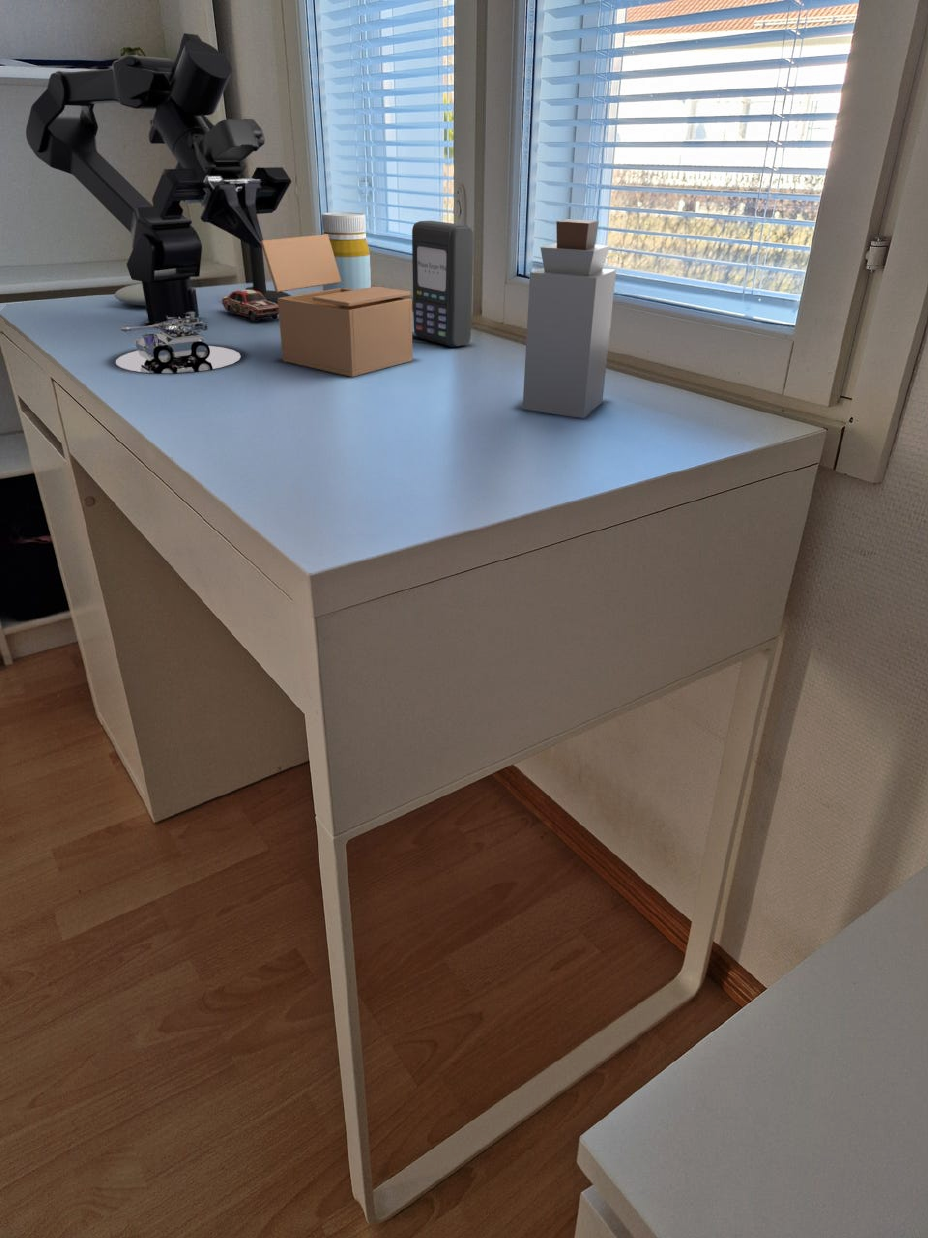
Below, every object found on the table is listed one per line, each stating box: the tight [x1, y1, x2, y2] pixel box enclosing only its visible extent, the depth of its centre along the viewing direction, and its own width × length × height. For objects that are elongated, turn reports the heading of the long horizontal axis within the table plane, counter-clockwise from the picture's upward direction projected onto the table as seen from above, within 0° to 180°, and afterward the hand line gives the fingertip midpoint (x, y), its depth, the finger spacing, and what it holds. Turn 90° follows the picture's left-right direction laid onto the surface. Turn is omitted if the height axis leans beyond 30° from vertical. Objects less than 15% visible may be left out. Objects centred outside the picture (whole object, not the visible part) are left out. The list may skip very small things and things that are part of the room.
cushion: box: [114, 283, 146, 307], centre depth 136 cm, size 12×12×3 cm
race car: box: [221, 289, 279, 323], centre depth 128 cm, size 5×12×5 cm, turn 36°
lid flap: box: [260, 234, 341, 292], centre depth 104 cm, size 6×11×1 cm
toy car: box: [115, 309, 241, 374], centre depth 104 cm, size 15×15×5 cm
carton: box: [278, 286, 413, 378], centre depth 103 cm, size 12×11×8 cm
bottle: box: [321, 211, 372, 291], centre depth 122 cm, size 7×7×15 cm
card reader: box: [411, 220, 475, 348], centre depth 113 cm, size 9×4×15 cm, turn 41°
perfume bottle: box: [522, 218, 617, 419], centre depth 85 cm, size 7×7×18 cm
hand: (260, 245), depth 107 cm, fingers closed
